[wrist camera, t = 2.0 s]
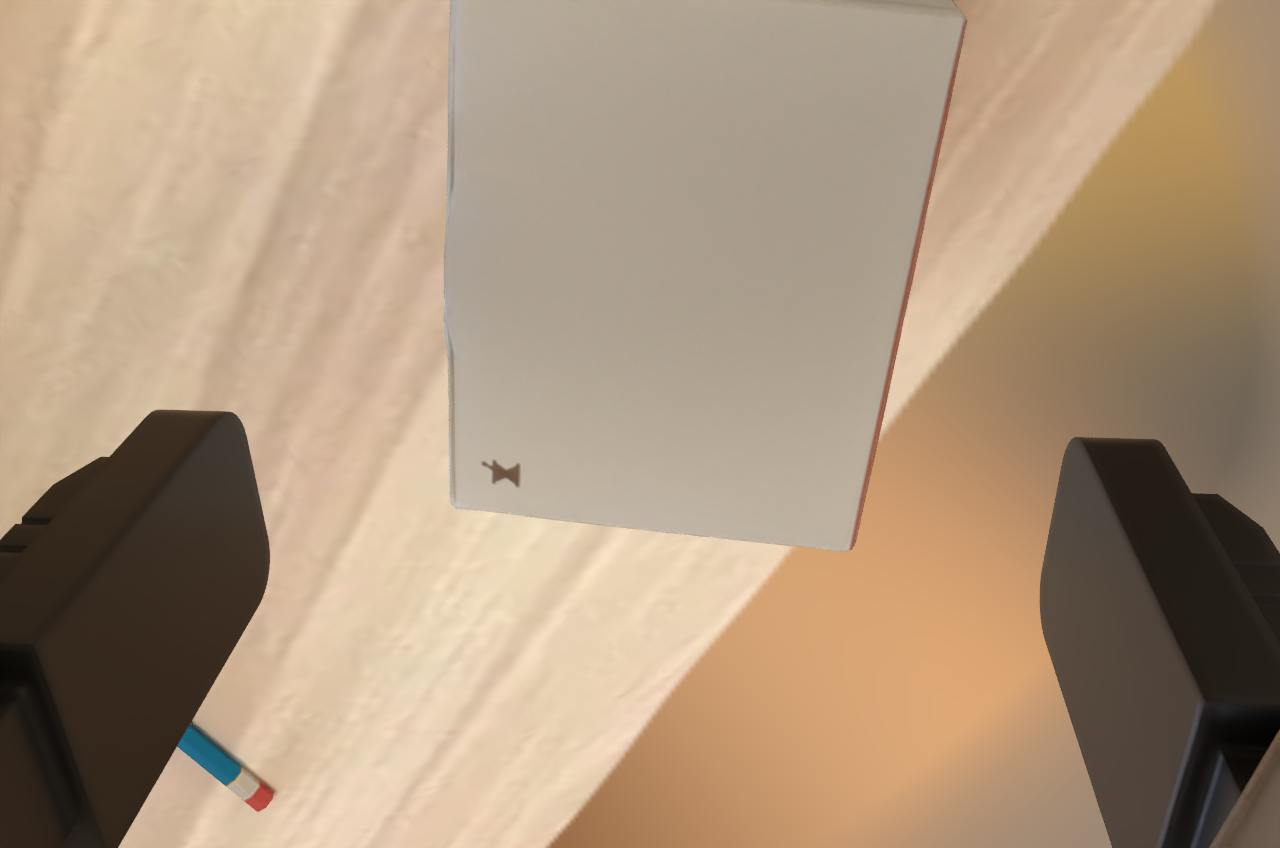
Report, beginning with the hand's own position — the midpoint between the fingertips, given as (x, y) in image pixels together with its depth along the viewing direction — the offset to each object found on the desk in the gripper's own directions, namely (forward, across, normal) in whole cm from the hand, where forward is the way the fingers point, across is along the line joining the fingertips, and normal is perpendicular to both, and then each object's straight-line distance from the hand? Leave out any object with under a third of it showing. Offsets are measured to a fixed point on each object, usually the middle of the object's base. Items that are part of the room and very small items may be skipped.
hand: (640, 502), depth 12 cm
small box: (+18, 0, 0) cm, 18 cm away
